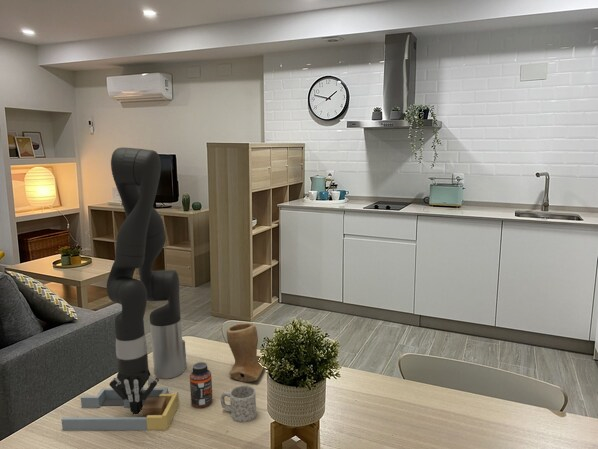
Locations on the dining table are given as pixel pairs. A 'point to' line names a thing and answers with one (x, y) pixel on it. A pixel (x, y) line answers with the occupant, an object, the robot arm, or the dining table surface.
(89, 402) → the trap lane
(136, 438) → the dining table surface
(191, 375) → the supplement bottle
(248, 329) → the tan boot vase
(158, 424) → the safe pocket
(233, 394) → the mug
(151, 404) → the walnut block
